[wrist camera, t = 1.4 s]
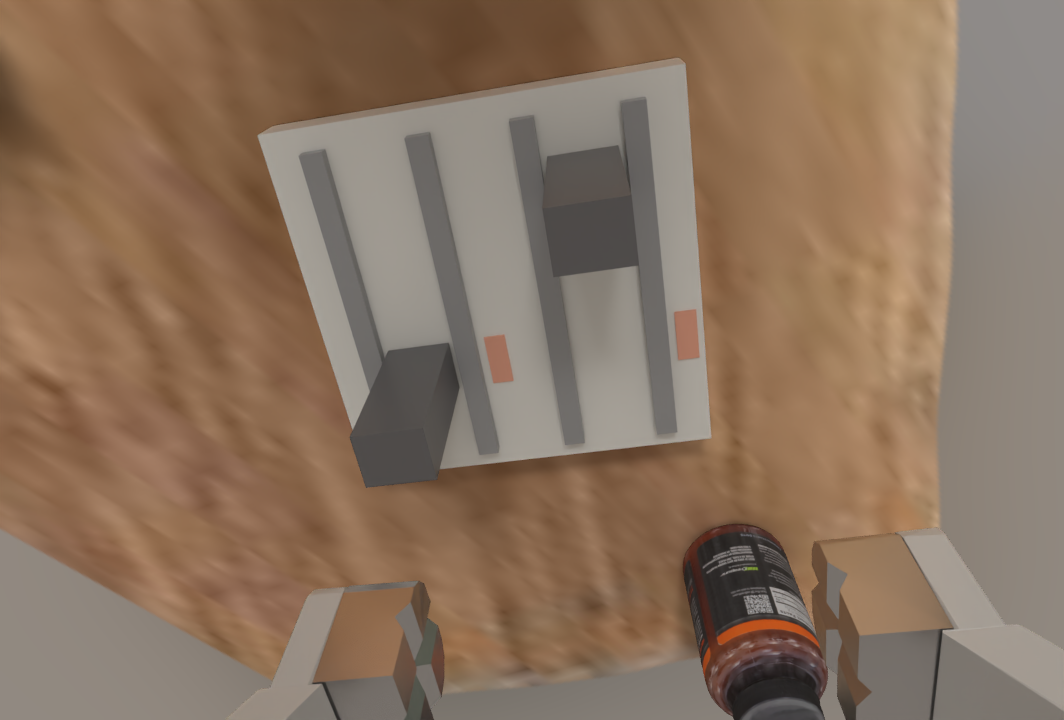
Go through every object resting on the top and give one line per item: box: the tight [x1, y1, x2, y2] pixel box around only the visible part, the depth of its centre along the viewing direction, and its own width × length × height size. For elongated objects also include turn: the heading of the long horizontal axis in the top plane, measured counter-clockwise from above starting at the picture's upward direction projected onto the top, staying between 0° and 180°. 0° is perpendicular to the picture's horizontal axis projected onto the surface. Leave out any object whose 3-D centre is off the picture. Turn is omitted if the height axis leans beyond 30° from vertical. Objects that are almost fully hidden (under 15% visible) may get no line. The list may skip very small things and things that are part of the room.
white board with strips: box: [257, 58, 711, 469], centre depth 36 cm, size 18×18×3 cm
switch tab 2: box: [542, 145, 639, 277], centre depth 30 cm, size 2×3×8 cm
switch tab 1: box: [350, 343, 460, 488], centre depth 34 cm, size 2×3×8 cm
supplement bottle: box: [683, 524, 828, 720], centre depth 40 cm, size 6×6×11 cm
